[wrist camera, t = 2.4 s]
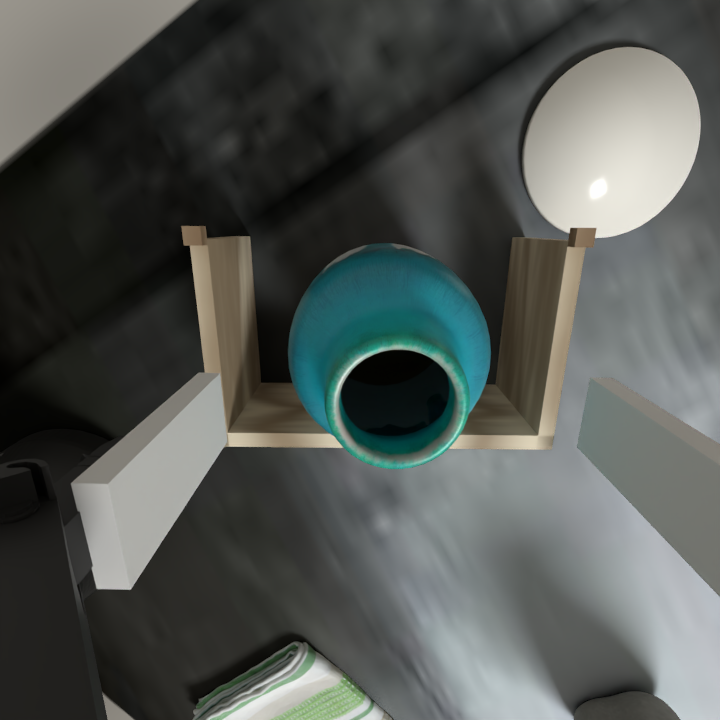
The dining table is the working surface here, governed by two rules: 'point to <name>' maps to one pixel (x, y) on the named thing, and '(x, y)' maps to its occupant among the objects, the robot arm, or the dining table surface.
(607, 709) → the vase
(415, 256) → the vase
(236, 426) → the light wood u-shaped piece
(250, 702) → the dish towel
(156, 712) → the dining table surface
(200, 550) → the dining table surface
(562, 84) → the disc
